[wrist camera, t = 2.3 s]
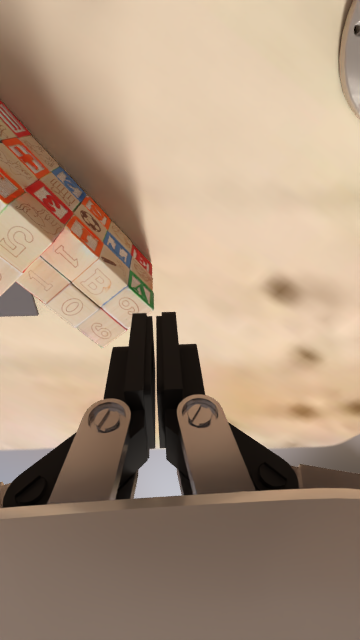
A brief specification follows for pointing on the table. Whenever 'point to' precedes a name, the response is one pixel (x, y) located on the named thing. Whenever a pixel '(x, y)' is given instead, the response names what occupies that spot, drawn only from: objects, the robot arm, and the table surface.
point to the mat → (17, 302)
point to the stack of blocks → (65, 242)
